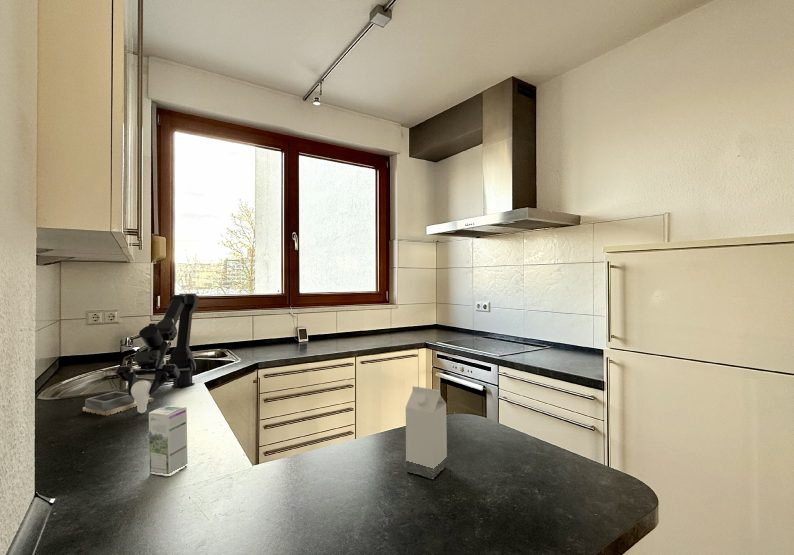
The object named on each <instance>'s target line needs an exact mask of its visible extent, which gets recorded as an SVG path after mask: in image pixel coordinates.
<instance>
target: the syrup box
mask: <svg viewBox="0 0 794 555" xmlns="http://www.w3.org/2000/svg"><path fill="white" fill-rule="evenodd" d="M187 412H188V409H187V406H182V405H181V406H180V405H179V406H178V405H165V406H161V407H159V408H156V409H154V410H152V411H150V412H148V437H149V438H148V449H149V451H148V452H149V453H148V454H149V473H150V472H155V473H163V474H170V473H172V472H173V471H175V470H177V469H179V468H181V467H183V466H185V465H186V464H188V465H189V463H188V462H189V461H188V419H187V418H188V414H187Z"/></svg>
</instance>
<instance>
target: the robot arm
mask: <svg viewBox="0 0 794 555" xmlns="http://www.w3.org/2000/svg"><path fill="white" fill-rule="evenodd" d="M199 303H200V297H199V296H198V295H197V293H192V292H191V293H179V294H174V295H172V296H171V300H170V304H169V305H168V308H167V309H166V312H165V314H164V316H163V318H162V319H161V320H160V321H159V322H157V323H155V322H154V323H153V322H151V323H148V325H146V326H145V327H143V328H142V329H141V330H139V333H138V334H139V337H140V338H141V340H142V342H143V344H144V346H146V347H147V348H148V349H147V351H136V352H135V353H134V354H135V355H134V357H133V358H134V360H133V362H134V363H137V367H138V369H137V368H136V369H135V368H134V367H133V366H132V365H120V366H117V368H116V370H115V371H114V372H115V374H116V375H117V376H118V378H119V379H120V380H121V381H123V382H127V383H128V384H127V385H128V386H127V387H128V388H127V389H128V392H127V393H128V394H129V396H131V395H132V394H131V388H132V386H133V385H134V384H135V383H136V382H138V381H139V379H138V377H139V376H154V378H153V381H152V383H151V384H152V385H151V388H150V391H149V395H150V396H151V395H153V394H154V393H155V392H156V391H157V390H158V389H159V388H160V387H161V386H163V385H164V384H165V383H166V382H169V381H170V380H172V384H171V386H172V387H173V388H179V389H184V388H187V387H190V385H191V386H193V384H194V385H196V383H195V382H193V372H195V371H196V369H197V363H196V361H195V360H194V357H193V352H192V351H191V349H190V339H191V333H192V332H191V330H192V320H193V314H194V312H196V310H197V309H198V305H199ZM177 323H178V328H177V327H176V325H177ZM175 338H177V339H176V347H175V348H174V349H173V350H171V351H170V347H169V346H170V345H169V343H168V342H172V341H175ZM169 351H170V353H169V354H170V355H169V360H168V364H167V363H166V364H165V360H164V359H165V356H166V354H167V352H169ZM171 386H170V387H171ZM172 387H171V388H172Z"/></svg>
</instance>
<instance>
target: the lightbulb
mask: <svg viewBox="0 0 794 555" xmlns="http://www.w3.org/2000/svg"><path fill="white" fill-rule="evenodd" d="M151 385H152V383H151V382H150V381H148V380H146V379H145V380H144V379H142V380H138V382H136V383H135V384H134V385H133V386H132V388H131V394H132V396H133V397H134V399H135V401H136V406H137V407H136V409H137V413H140V414H144V413H145V412H146V411H147V406H148V404H149V403H148V398H150V396H151V395H149V391H150V388H151Z"/></svg>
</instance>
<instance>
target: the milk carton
mask: <svg viewBox="0 0 794 555" xmlns="http://www.w3.org/2000/svg"><path fill="white" fill-rule="evenodd" d="M447 438H448V437H447V402H446V401H445V400H444V398H443V397H442V396H441V390H440V389H434V388H427V387H420V386H414V385H413V386H412V391H411V393H410V396H409V398H408V400H407V403H406V405H405V462H406V461H409V462H413V463H416V464H420V465H423V466H426V467H430V468H433V469H434V468H435V467H436V466H438V464H440V463H441V462H442V461H443V460H444V459H445V458H446V457H447V458H448V452H447V451H448V448H447V446H448V441H447V440H448V439H447Z"/></svg>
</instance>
